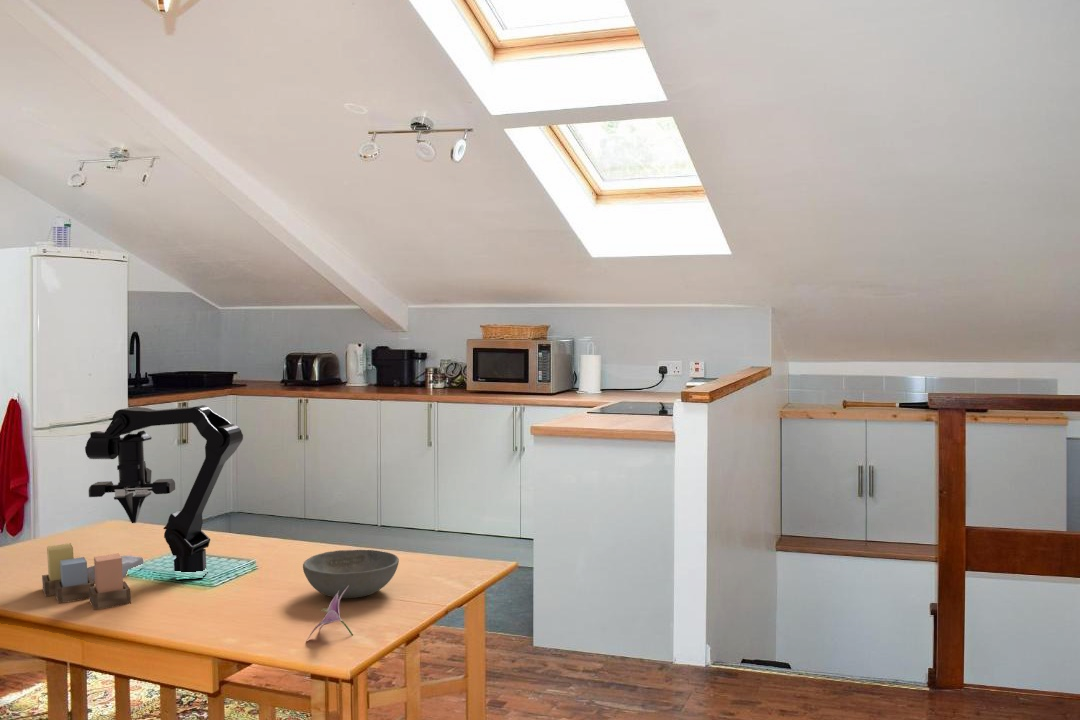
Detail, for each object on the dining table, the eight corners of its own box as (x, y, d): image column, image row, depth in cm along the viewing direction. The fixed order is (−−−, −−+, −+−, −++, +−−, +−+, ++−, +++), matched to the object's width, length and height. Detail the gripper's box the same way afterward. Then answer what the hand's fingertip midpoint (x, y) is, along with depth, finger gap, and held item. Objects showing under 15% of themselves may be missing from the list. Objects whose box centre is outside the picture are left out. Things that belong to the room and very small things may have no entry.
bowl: (297, 588, 215) (295, 554, 214) (386, 576, 223) (385, 542, 222) (313, 615, 195) (311, 577, 195) (410, 600, 203) (409, 564, 203)
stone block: (82, 588, 225) (119, 581, 224) (78, 569, 225) (114, 561, 224) (113, 576, 237) (148, 569, 235) (109, 557, 237) (144, 550, 235)
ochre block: (72, 574, 221) (70, 543, 221) (74, 579, 217) (73, 547, 217) (48, 578, 219) (46, 546, 218) (50, 583, 214) (48, 550, 214)
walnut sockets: (114, 577, 227) (113, 564, 227) (130, 603, 206) (130, 589, 206) (42, 588, 219) (42, 575, 219) (52, 617, 198) (51, 602, 198)
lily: (346, 626, 191) (321, 587, 190) (384, 613, 184) (357, 573, 183) (309, 663, 181) (282, 623, 180) (347, 651, 175) (319, 608, 173)
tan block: (120, 586, 211) (118, 553, 210) (123, 591, 206) (121, 557, 206) (95, 590, 208) (93, 556, 208) (98, 595, 204) (96, 561, 203)
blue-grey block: (85, 589, 216) (84, 557, 216) (88, 594, 212) (86, 561, 211) (61, 592, 213) (59, 560, 213) (63, 598, 209) (62, 565, 209)
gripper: (179, 452, 236) (182, 513, 237) (102, 455, 234) (105, 517, 235) (167, 459, 225) (170, 523, 226) (86, 463, 223) (89, 527, 224)
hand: (134, 522), depth 228 cm, fingers closed
